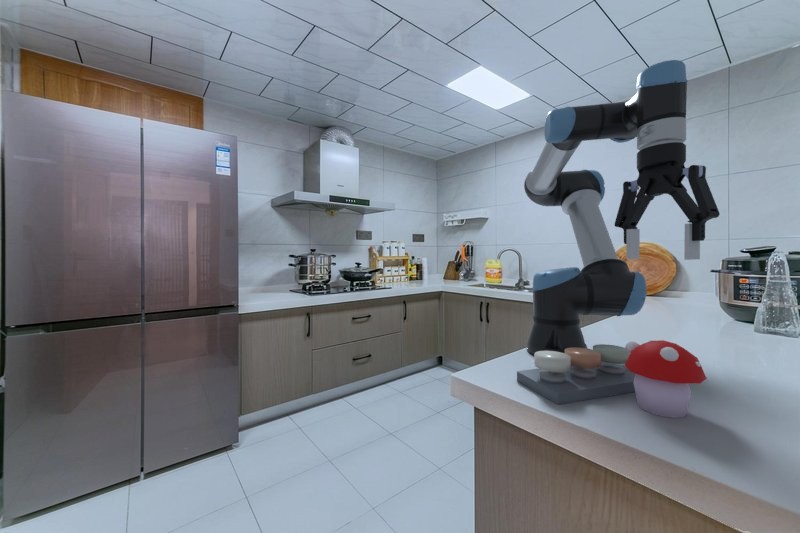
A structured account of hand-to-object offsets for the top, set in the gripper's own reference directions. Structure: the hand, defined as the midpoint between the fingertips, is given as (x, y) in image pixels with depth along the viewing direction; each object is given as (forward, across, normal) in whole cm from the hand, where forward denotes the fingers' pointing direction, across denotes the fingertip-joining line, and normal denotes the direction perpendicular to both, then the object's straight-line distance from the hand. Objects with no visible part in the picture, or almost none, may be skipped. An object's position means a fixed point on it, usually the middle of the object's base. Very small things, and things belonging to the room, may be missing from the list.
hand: (660, 259), depth 63 cm
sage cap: (+21, -6, -6) cm, 23 cm away
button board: (+26, -6, -13) cm, 29 cm away
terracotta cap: (+21, -6, -13) cm, 26 cm away
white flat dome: (+21, -6, -21) cm, 30 cm away
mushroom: (+26, +7, -9) cm, 28 cm away
